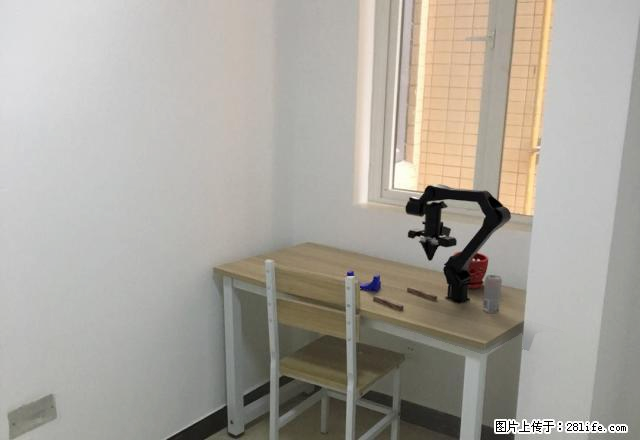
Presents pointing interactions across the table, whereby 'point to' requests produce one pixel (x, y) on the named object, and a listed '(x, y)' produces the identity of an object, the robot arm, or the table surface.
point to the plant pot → (477, 270)
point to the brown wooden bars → (400, 307)
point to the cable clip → (371, 286)
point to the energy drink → (492, 294)
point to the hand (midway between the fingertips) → (430, 260)
